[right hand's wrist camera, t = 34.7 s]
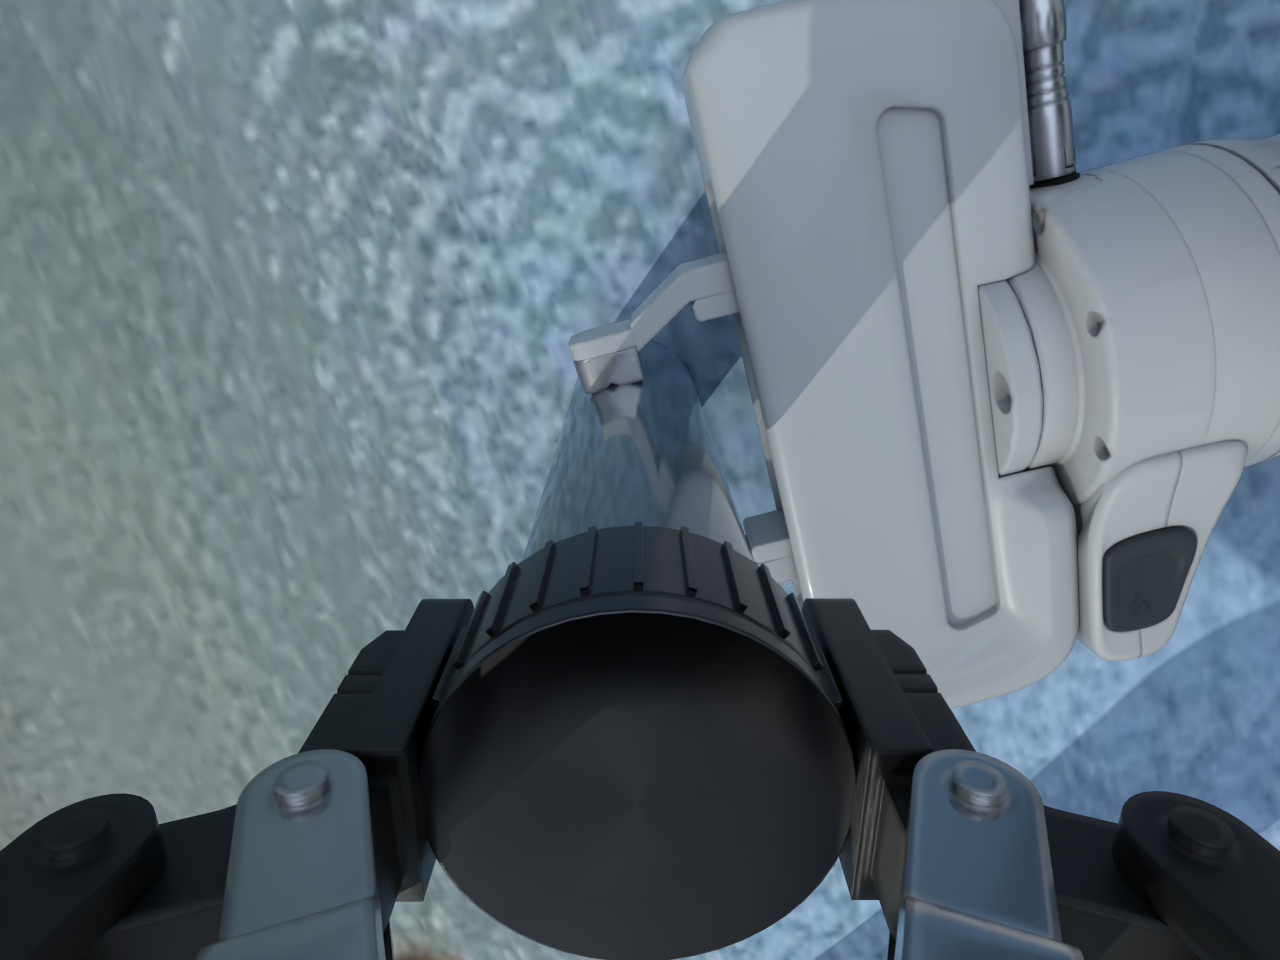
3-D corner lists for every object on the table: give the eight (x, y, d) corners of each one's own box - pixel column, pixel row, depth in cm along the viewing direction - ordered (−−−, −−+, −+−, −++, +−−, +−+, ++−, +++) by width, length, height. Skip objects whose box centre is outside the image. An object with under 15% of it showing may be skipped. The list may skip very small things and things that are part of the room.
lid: (487, 478, 10) (446, 556, 8) (872, 564, 11) (933, 661, 8) (429, 792, 12) (381, 926, 10) (760, 855, 12) (785, 998, 10)
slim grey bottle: (665, 473, 30) (718, 906, 11) (556, 429, 29) (430, 814, 11) (715, 367, 28) (865, 669, 10) (602, 318, 28) (544, 546, 9)
